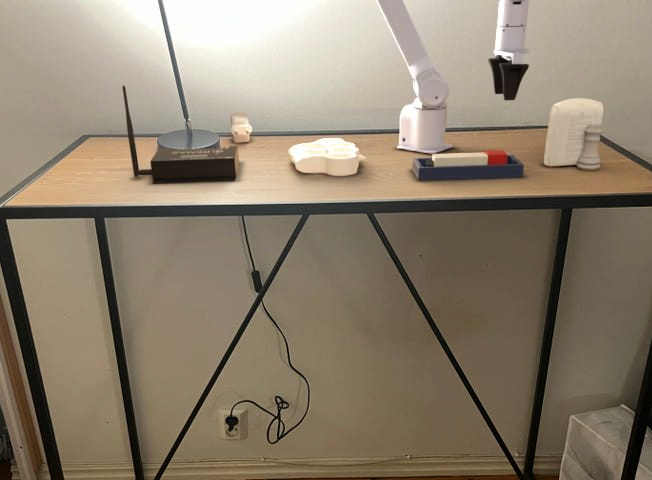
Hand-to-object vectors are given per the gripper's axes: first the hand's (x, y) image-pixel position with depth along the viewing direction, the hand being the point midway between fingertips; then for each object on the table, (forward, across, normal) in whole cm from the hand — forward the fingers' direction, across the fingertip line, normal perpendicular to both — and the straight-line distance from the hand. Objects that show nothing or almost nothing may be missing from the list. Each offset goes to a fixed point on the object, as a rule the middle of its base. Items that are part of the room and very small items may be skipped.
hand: (504, 96), depth 151 cm
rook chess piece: (+11, -19, -12) cm, 25 cm away
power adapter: (+11, +12, +57) cm, 59 cm away
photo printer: (+11, -16, -10) cm, 21 cm away
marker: (+10, -20, +12) cm, 25 cm away
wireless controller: (+11, -13, +66) cm, 68 cm away
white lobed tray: (+11, -10, +38) cm, 41 cm away
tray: (+10, -20, +12) cm, 26 cm away
